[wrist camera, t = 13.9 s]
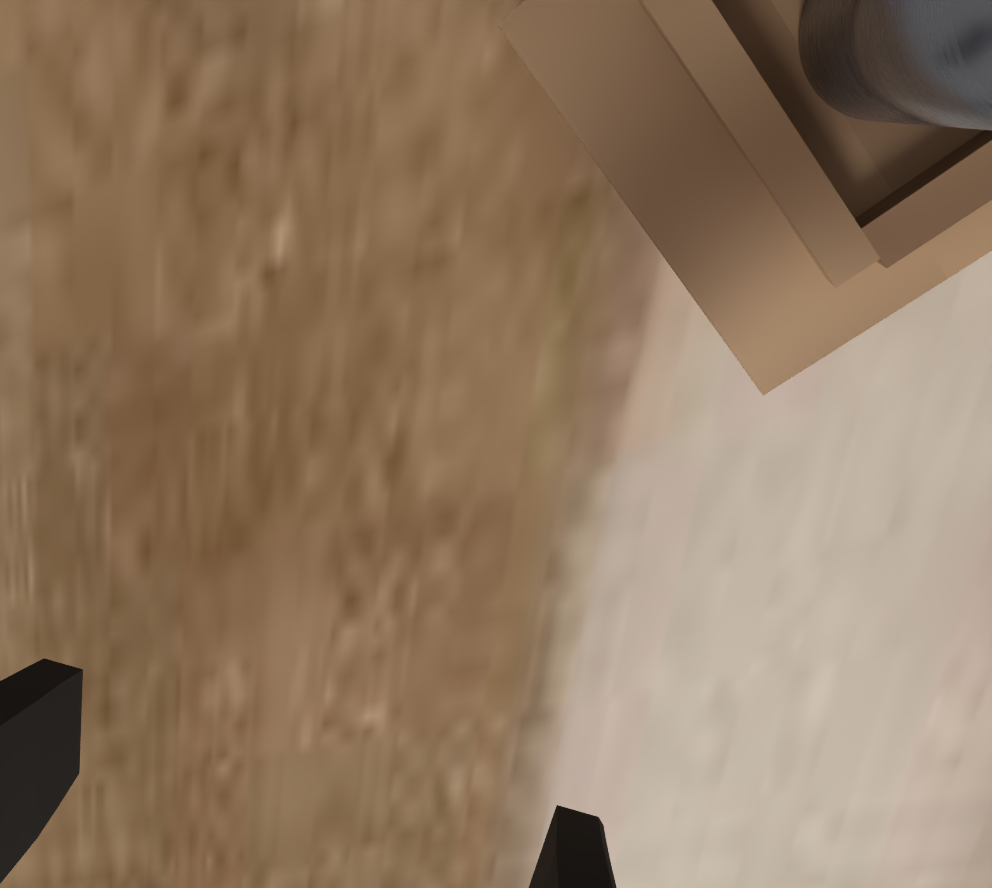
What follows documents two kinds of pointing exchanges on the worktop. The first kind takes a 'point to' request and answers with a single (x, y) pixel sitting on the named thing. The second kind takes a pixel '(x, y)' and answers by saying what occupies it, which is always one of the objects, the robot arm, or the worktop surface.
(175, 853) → the worktop surface
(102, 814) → the worktop surface
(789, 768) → the worktop surface
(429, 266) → the worktop surface
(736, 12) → the socket block
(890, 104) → the metal cylinder
